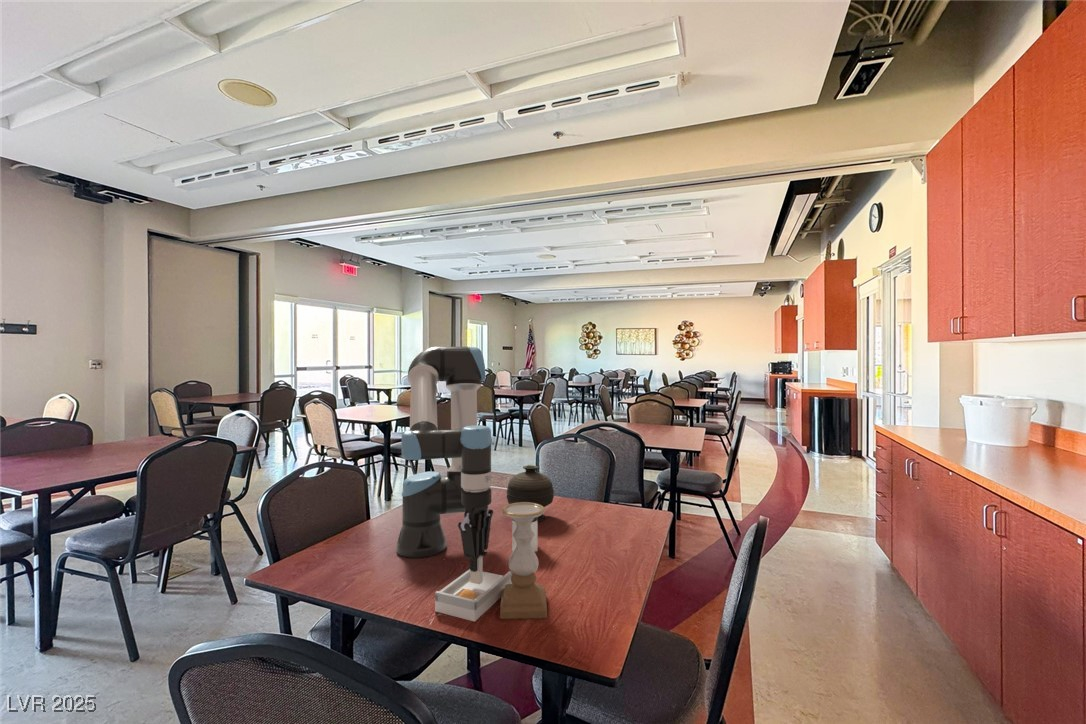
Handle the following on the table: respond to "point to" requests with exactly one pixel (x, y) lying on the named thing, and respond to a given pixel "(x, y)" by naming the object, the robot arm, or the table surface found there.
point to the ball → (467, 594)
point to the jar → (534, 540)
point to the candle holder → (523, 568)
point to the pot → (530, 488)
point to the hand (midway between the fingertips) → (476, 582)
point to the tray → (470, 608)
